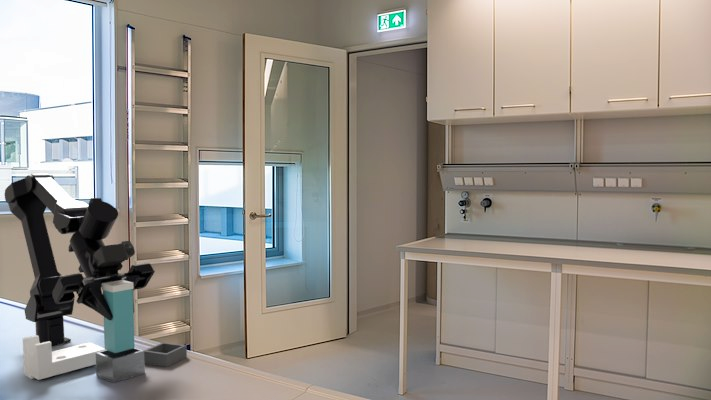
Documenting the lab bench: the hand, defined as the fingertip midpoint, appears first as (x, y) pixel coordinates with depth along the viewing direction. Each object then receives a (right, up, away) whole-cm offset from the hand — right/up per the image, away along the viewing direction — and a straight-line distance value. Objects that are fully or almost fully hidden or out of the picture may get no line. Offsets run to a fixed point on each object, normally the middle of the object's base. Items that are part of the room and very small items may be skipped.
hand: (122, 316), depth 110 cm
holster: (+5, -11, +9) cm, 15 cm away
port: (-1, -12, +2) cm, 12 cm away
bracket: (-13, -12, +4) cm, 18 cm away
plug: (-1, -7, +1) cm, 7 cm away
